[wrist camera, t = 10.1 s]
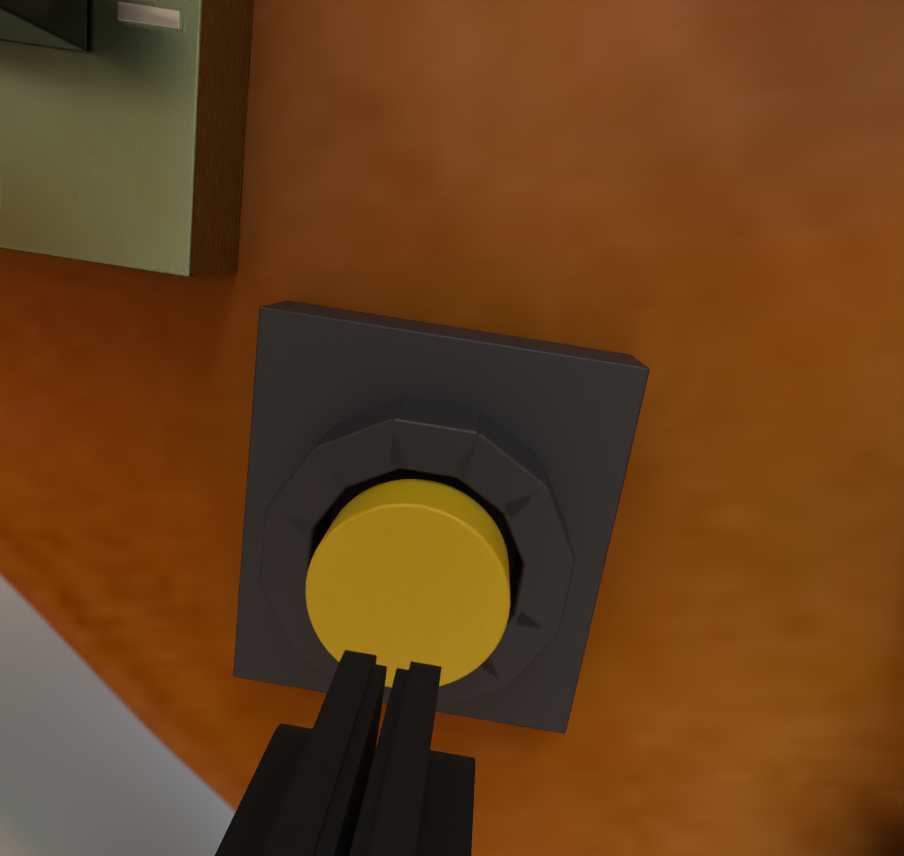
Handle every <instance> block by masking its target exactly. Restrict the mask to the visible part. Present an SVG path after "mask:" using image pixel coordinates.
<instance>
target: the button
mask: <svg viewBox="0 0 904 856" xmlns="http://www.w3.org/2000/svg"><path fill="white" fill-rule="evenodd" d="M305 596H306V605H307V610H308V614H309V617H310V621H311V623H312V626H313V628H314V631H315V632H316V634H317V636H318V638H319V639H320V641H321V643H322V644H323V645H324V647H325V648H326V649H327V651H328V652H329V653H330V654H331V655H332V656H333V657H334V658H335V659H336V660H337V661H338V662H340V660H341V658H342V655H343V653H344V651H345V650H350V651H355V652H361V653H367V654H373V655H376V656H377V660H376V664H378V665H383V666H387V673H386V680H385V686H387V687H391V688H392V684H393V680H394V676H395V673H396V669H397V668H400V669H406V670H409V666H410V662H411V661H413V662H418V663H424V664H430V665H436V666H441V667H442V669H441V676H440V683H439V686H443V685H446V684H449V683H452V682H454V681H457V680H459V679H461V678H462V677H464V676H466V675H468V674H469V673H471V672H472V671H474V670H475V669H476V668H478V667H479V666H480V665H481V664H482V663H483V662H484V661H485V660H486V659H487V658H488V657H489V656H490V655H491V653H492V652H493V651H494V650H495V648H496V647H497V645H498V643H499V642H500V640H501V638H502V636H503V634H504V631H505V629H506V626H507V622H508V618H509V612H510V578H509V559H508V553H507V548H506V545H505V542H504V539H503V537H502V534H501V532H500V530H499V528H498V527H497V525H496V524H495V522H494V520H493V519H492V517H491V516H490V515H489V514H488V513H487V512H486V511H485V509H484V508H483V507H482V506H480V505H479V504H478V503H477V502H476V501H475V500H473V499H472V498H471V497H469V496H468V495H466V494H465V493H463V492H461V491H459V490H457V489H455V488H453V487H451V486H448V485H445V484H442V483H439V482H435V481H430V480H423V479H400V480H393V481H389V482H385V483H382V484H378V485H376V486H374V487H371V488H369V489H367V490H365V491H364V492H362V493H360V494H359V495H357V496H356V497H355V498H353V499H352V500H351V501H350V502H349V503H348V504H347V505H346V506H345V507H344V508H343V509H342V510H341V511H340V512H339V514H338V515H337V517H336V518H335V520H334V521H333V523H332V524H331V526H330V528H329V529H328V531H327V532H326V534H325V536H324V537H323V539H322V541H321V542H320V544H319V545H318V547H317V549H316V551H315V553H314V555H313V557H312V559H311V562H310V565H309V568H308V572H307V577H306V586H305Z"/></svg>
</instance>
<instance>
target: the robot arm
mask: <svg viewBox="0 0 904 856" xmlns="http://www.w3.org/2000/svg"><path fill="white" fill-rule="evenodd" d="M376 660H377V656H376V655H373V654H367V653H361V652H355V651H350V650H345V651H344V653H343V655H342V658H341V660H340V662H339V665H338V667H337V670H336V672H335V675H334V677H333V680H332V682H331V685H330V687H329V690H328V692H327V695H326V697H325V700H324V702H323V705H322V707H321V710H320V712H319V715H318V717H317V720H316V722H315V725H314V727H313V729H309V728H304V727H298V726H293V725H287V724H280V725H279V726H278V727H277V729H276V730H275V732H274V734H273V736H272V738H271V740H270V742H269V744H268V746H267V748H266V751H265V753H264V755H263V757H262V759H261V761H260V763H259V765H258V767H257V769H256V771H255V773H254V775H253V777H252V780H251V782H250V784H249V786H248V788H247V790H246V792H245V794H244V796H243V798H242V800H241V802H240V804H239V806H238V809H237V811H236V813H235V815H234V817H233V819H232V821H231V823H230V825H229V827H228V829H227V831H226V834H225V836H224V838H223V840H222V842H221V844H220V846H219V848H218V850H217V852H216V854H215V856H471V847H472V826H473V804H474V783H475V758H472V757H466V756H461V755H455V754H449V753H444V752H438V751H433V750H430V746H431V739H432V732H433V725H434V718H435V711H436V704H437V697H438V690H439V683H440V676H441V669H442V667H441V666H436V665H430V664H424V663H418V662H413V661H411V662H410V666H409V670H406V669H400V668H397V669H396V673H395V676H394V680H393V684H392V688H391V692H390V696H389V700H388V704H387V708H386V712H385V716H384V720H383V724H382V728H381V732H380V735H379V739H378V743H377V736H378V729H379V722H380V715H381V708H382V701H383V694H384V687H385V680H386V673H387V666H383V665H378V664H376ZM376 743H377V747H376ZM375 750H376V751H375Z"/></svg>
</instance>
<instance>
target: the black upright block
mask: <svg viewBox="0 0 904 856" xmlns="http://www.w3.org/2000/svg"><path fill="white" fill-rule="evenodd" d="M0 39H6V40H12V41H19V42H26V43H33V44H39V45H46V46H53V47H59V48H66V49H73V50H79V51H85V50H87V0H0Z"/></svg>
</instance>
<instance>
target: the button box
mask: <svg viewBox="0 0 904 856" xmlns="http://www.w3.org/2000/svg"><path fill="white" fill-rule="evenodd" d="M648 374H649V368H648V367H647V366H645V365H644V364H643V363H641V362H640V361H638V360H637V359H636V358H634V357H633V356H631V355H628V354H622V353H616V352H609V351H603V350H597V349H590V348H584V347H578V346H571V345H565V344H559V343H552V342H546V341H540V340H533V339H527V338H521V337H514V336H508V335H502V334H495V333H489V332H483V331H476V330H470V329H463V328H457V327H451V326H444V325H438V324H432V323H425V322H419V321H413V320H406V319H400V318H394V317H387V316H381V315H375V314H368V313H362V312H356V311H349V310H343V309H337V308H330V307H324V306H318V305H311V304H305V303H299V302H292V301H285V302H280V303H275V304H271V305H266V306H261V307H260V309H259V323H258V337H257V350H256V364H255V378H254V392H253V406H252V420H251V434H250V448H249V462H248V475H247V489H246V503H245V517H244V531H243V545H242V559H241V573H240V586H239V600H238V614H237V628H236V642H235V656H234V670H233V676H234V677H239V678H245V679H251V680H256V681H262V682H268V683H274V684H280V685H285V686H291V687H297V688H303V689H309V690H314V691H320V692H326V693H327V692H328V690H329V687H330V685H331V682H332V680H333V677H334V675H335V672H336V670H337V667H338V665H339V662H338V661H337V660H336V659H335V658H334V657H333V656H332V655H331V654H330V653H329V652H328V651H327V649H326V648H325V647H324V645H323V644H322V643H321V641H320V639H319V638H318V636H317V634H316V632H315V631H314V628H313V626H312V623H311V621H310V617H309V614H308V610H307V605H306V596H305V586H306V577H307V572H308V568H309V565H310V562H311V559H312V557H313V555H314V553H315V551H316V549H317V547H318V545H319V544H320V542H321V541H322V539H323V537H324V536H325V534H326V532H327V531H328V529H329V528H330V526H331V524H332V523H333V521H334V520H335V518H336V517H337V515H338V514H339V512H340V511H341V510H342V509H343V508H344V507H345V506H346V505H347V504H348V503H349V502H350V501H351V500H352V499H353V498H355V497H356V496H357V495H359V494H360V493H362V492H364V491H365V490H367V489H369V488H371V487H374V486H376V485H378V484H382V483H385V482H389V481H393V480H400V479H423V480H430V481H435V482H439V483H442V484H445V485H448V486H451V487H453V488H455V489H457V490H459V491H461V492H463V493H465V494H466V495H468V496H469V497H471V498H472V499H473V500H475V501H476V502H477V503H478V504H479V505H480V506H482V507H483V508H484V509H485V511H486V512H487V513H488V514H489V515H490V516H491V517H492V519H493V520H494V522H495V524H496V525H497V527H498V528H499V530H500V532H501V534H502V537H503V539H504V542H505V545H506V548H507V553H508V559H509V578H510V612H509V618H508V622H507V626H506V629H505V631H504V634H503V636H502V638H501V640H500V642H499V643H498V645H497V647H496V648H495V650H494V651H493V652H492V653H491V655H490V656H489V657H488V658H487V659H486V660H485V661H484V662H483V663H482V664H481V665H480V666H479V667H478V668H476V669H475V670H474V671H472V672H471V673H469V674H468V675H466V676H464V677H462V678H461V679H459V680H457V681H454V682H452V683H449V684H446V685H443V686H439V690H438V697H437V704H436V712H442V713H448V714H453V715H459V716H465V717H471V718H477V719H482V720H488V721H494V722H500V723H506V724H511V725H517V726H523V727H529V728H535V729H540V730H546V731H552V732H558V733H563V734H564V733H566V729H567V725H568V721H569V716H570V712H571V708H572V703H573V699H574V695H575V690H576V686H577V682H578V677H579V673H580V669H581V664H582V660H583V656H584V651H585V647H586V643H587V638H588V634H589V630H590V625H591V621H592V617H593V612H594V608H595V604H596V599H597V595H598V591H599V586H600V582H601V578H602V573H603V569H604V565H605V560H606V556H607V552H608V547H609V543H610V539H611V534H612V530H613V526H614V521H615V517H616V513H617V509H618V504H619V500H620V496H621V491H622V487H623V483H624V478H625V474H626V470H627V465H628V461H629V457H630V452H631V448H632V444H633V439H634V435H635V431H636V426H637V422H638V418H639V413H640V409H641V405H642V400H643V396H644V392H645V387H646V383H647V379H648ZM390 692H391V687H387V686H385V687H384V694H383V701H382V702H384V703H388V700H389V696H390Z"/></svg>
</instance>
